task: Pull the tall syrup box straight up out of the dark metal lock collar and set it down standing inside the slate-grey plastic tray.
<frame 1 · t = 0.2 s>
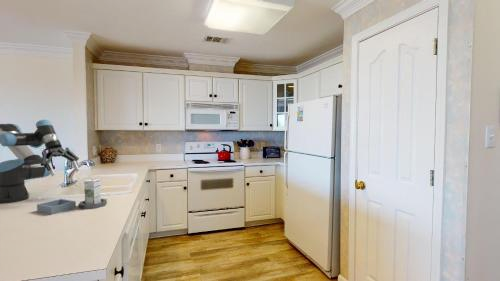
hand: (66, 172, 159), 16 cm above the counter, tool tilted 35°, fingers open, 13 cm apart
tray: (56, 209, 141), on the counter
lock collar: (93, 205, 149), on the counter
syrup box: (93, 205, 149), resting in lock collar
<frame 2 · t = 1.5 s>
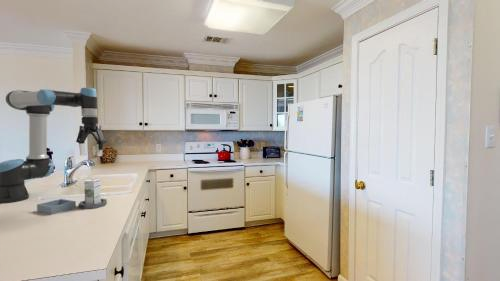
hand: (91, 155, 147), 28 cm above the counter, tool pointing down, fingers open, 13 cm apart
nothing on the counter moved.
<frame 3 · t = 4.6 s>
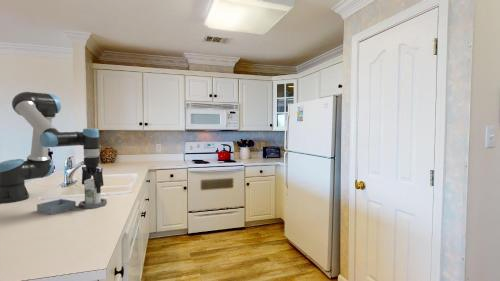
hand: (92, 198, 149), 4 cm above the counter, tool pointing down, fingers closed on syrup box, 7 cm apart
syrup box: (93, 205, 149), resting in lock collar, touching gripper
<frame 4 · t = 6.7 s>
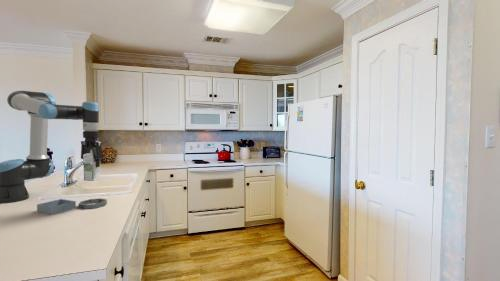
hand: (91, 172, 148), 18 cm above the counter, tool pointing down, fingers closed on syrup box, 7 cm apart
syrup box: (92, 180, 148), point 14 cm above the counter, touching gripper
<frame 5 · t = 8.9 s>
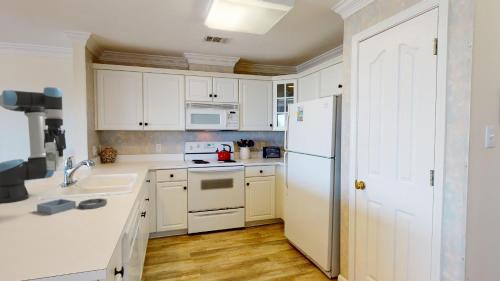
hand: (55, 162, 140), 25 cm above the counter, tool pointing down, fingers closed on syrup box, 7 cm apart
syrup box: (55, 170, 140), point 21 cm above the counter, touching gripper
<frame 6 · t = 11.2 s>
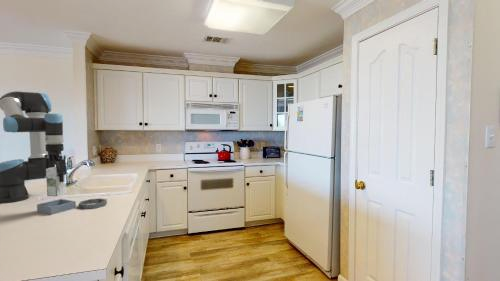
hand: (56, 187, 140), 12 cm above the counter, tool pointing down, fingers closed on syrup box, 7 cm apart
syrup box: (56, 195, 140), point 7 cm above the counter, touching gripper
when the fingers open (6 cm above the counter, at t = 13.2 s): syrup box drops 1 cm, resting on tray.
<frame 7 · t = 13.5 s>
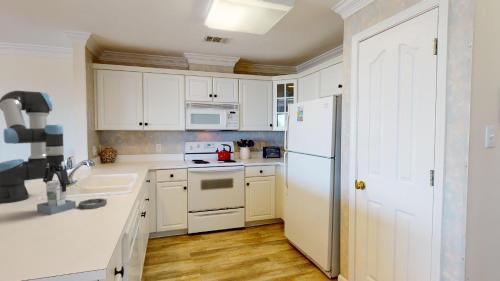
hand: (56, 196, 141), 7 cm above the counter, tool pointing down, fingers open, 10 cm apart
syrup box: (56, 208, 141), resting on tray
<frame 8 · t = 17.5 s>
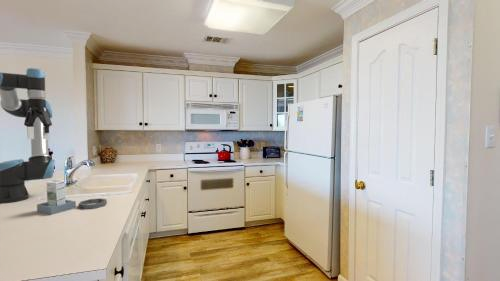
hand: (38, 139, 143), 37 cm above the counter, tool pointing down, fingers open, 13 cm apart
nothing on the counter moved.
at the end: syrup box inside the target area on the tray (0.1 cm from its centre), point 0.4 cm above the tray's base; syrup box tilted 0°; the gripper is holding nothing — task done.
